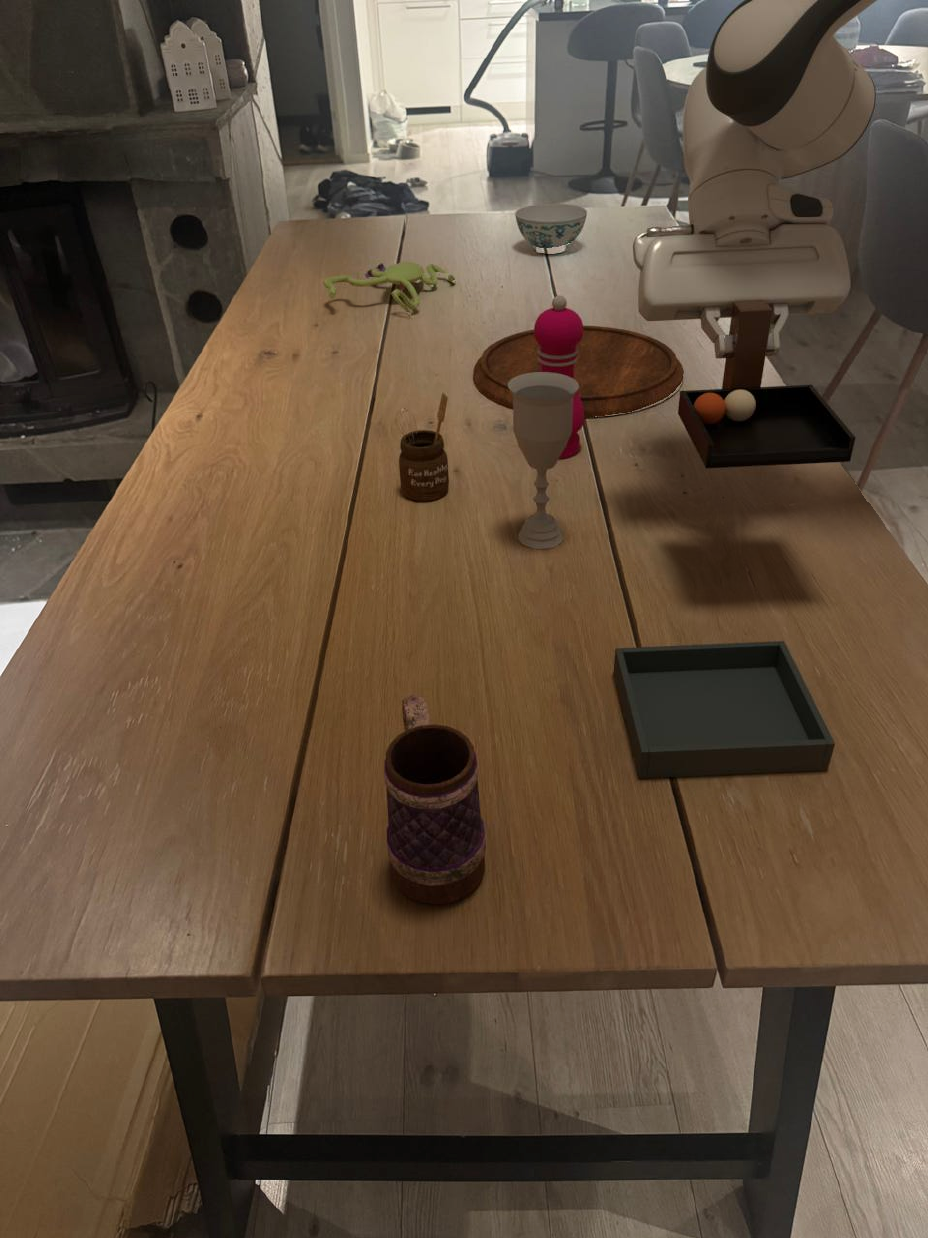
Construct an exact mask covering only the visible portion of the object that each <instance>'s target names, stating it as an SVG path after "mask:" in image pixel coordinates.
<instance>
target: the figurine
mask: <svg viewBox="0 0 928 1238" xmlns="http://www.w3.org/2000/svg"><path fill="white" fill-rule="evenodd" d="M426 272H427V273H428V275H429V277H430V278H429V277H427V276H426V275H424V274H425V270H424V267H423V266H422V265H420V264H418V263H416V262H399V263H395V264H392V265H389V266H387V267H385V265H384V263H380V264H378V265H377V266H376V267H374V268H373V269H372V268H371V269H369V270H367V272H366V273H364V276H365V278H366V277H367V278H369V277H377V278H372V279H367V278H366V279H355V278H353V277H351V276H350V275H345V274H344V275H334V276H330V277H327V278H325V280H323V286H324V287H325V288H326V289H328V290H329V292H328V293H329V294H328V296H329V298H330V299H334V298H335V297H336V294H337V288H336V286H335V284H337V283H348V284H349V285H351V286H354V287H362V288H364V287H369V286H376V285H381V284H384V283H390V284H393V285H398V288H395V289H394V290H393V291H391V293H390V295H391V296H392V298H393V300H394V301H395V302H396V303H397V304H398V305H399V306H400V307H401V308H402V309H403V310H404V311H405V313H406V312H409V313H411V310H410V309H409V308H408V307H410V308H411V309H413V310H416V309H417V308H418V307H419V306H420V298H419V295H418V293H417V291H416V289H415V287H414V285H413V284H412V283H414V281H417V280H419V279H420V280H421V282H422V283H424V284H426V285H427V286H429V285H435V284H436V283H437V284H438V276H437V272H441V273H449V272H448V271H446V270H445V269H444V268H442V267H441V266H438V265H436V264H434V263H430V264H428V265H427V266H426ZM431 279H432V280H431ZM455 279H456V277H455V276H454V275H453V274H451V275H449V276H448V280H449V281H453V280H455ZM448 280H447V281H448ZM449 281H448V282H449ZM437 284H436V285H437ZM436 285H435V286H436ZM405 289H407V291H408V292H409V294H410V296H411V298H412V301H411V300H410V298H409V297H408V296H407V294H406V293H404V290H405ZM401 290H403V292H402V291H401ZM400 297H401V299H402V300H403V301H404V302H405V303H406V304H407V305H406V304H404V302H403V301H402V300H401V299H400Z"/></svg>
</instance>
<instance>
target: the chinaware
mask: <svg viewBox="0 0 928 1238" xmlns="http://www.w3.org/2000/svg"><path fill="white" fill-rule="evenodd" d="M587 215H588V211H587V209H586V208H584V207H582V206H578V205H574V204H569V203H568V204H567V203H540V204H539V203H538V204H533V205H527V206H524V207H521V208H518V209H517V210H516V211H515V213H514V216H515V220H516V225H517V228H518V230H519V232H520V234H521V236H522V237H523V239H524V240H525V241H526V242H527V243H528V244H529V245H530V246H532V247H534V246H535V247H539V248H552V247H559V246H562V245H566V244H568V243H571V242H572V241H573V242H575V240H576V239H577V238H578V237H579V235H580V234H581V232H582V230H583V229H584V226H585V223H586V219H587ZM573 242H572V243H573ZM572 243H571V244H572ZM535 247H534V248H535Z"/></svg>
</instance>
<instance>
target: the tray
mask: <svg viewBox="0 0 928 1238" xmlns="http://www.w3.org/2000/svg"><path fill="white" fill-rule="evenodd" d="M612 674H613V678H614V681H615V682H614V683H615V686H616V691H617V695H618V699H619V702H620V707H621V711H622V714H623V715H622V716H623V718H624V722H625V728H626V731H627V737H628V739H629V744H630V748H631V752H632V756H633V760H634V764H635V769H636V772H637V776H638V779H639V780H641V779H660V778H661V779H663V778H686V777H687V778H688V777H708V776H726V775H727V776H730V775H731V776H733V775H754V774H755V775H756V774H777V773H778V774H779V773H780V774H781V773H799V772H801V773H802V772H822V771H823V772H825V771H828V770H829V768H830V765H831V764H830V763H831V760H832V756H833V753H834V749H835V746H836V743H835V741H834V738H833V736H832V735H831V733H830V730H829V729H828V726H827V724H826V722H825V719H823V716H822V714H821V712H820V711H819V708H818V706H817V704H816V703H815V701H814V698H813V697H812V694H811V693H810V690H809V689H808V686H807V685H806V682H805V680H804V678H803V676H802V674H801V671H800V670H799V668H798V666H797V664H796V662H795V661H794V658H793V656H792V653H791V652H790V650H789V648H788V646H787V644H786V642H785V640H778V641H777V640H775V641H774V640H773V641H753V642H732V643H731V642H729V643H708V644H683V645H662V646H659V645H658V646H638V647H637V646H636V647H635V646H634V647H616V648H615V649H614V660H613V673H612Z"/></svg>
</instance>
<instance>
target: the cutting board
mask: <svg viewBox="0 0 928 1238" xmlns="http://www.w3.org/2000/svg"><path fill="white" fill-rule="evenodd" d="M539 347H540V345H539V344H538V343H537V341H536V340H535V337H534V329H529V330H525V331H520V332H517V333H513V334H510V335H508V336H505V337H503V338H500V339H499V340H497V341H495V342H493V343H492V344H490V345H489V346H488V347H487V348H486V349H484V350H483V353H482V354H481V355H480V357H479V358H478V359H477V361H476V363H475V364H474V366H473V371H472V372H473V373H472V380H473V384H474V386H475V385H476V386H475V388H476V389H477V391H479V392H480V394H482V395H483V396H484V397H485V398H486V399H488V400H490V401H491V402H494V403H495V404H498V405H501V406H502V407H505V408H507V409H510V410H513V395H512V394H511V392H510V390H509V388H508V382H509V381H510V380H511V379H512V378H514V377H516V376H519V375H522V374H526V373H534V372H541V363H540V362H539V361H538V355H539V354H538V348H539ZM576 347H577V348H578V354H577V356H578V360H577V362H575V364H574V380H576V381H577V382H578V385H579V388H578V390H577V392H578V394H579V397H580V399H581V402H582V405H583V409H584V419H591V418H590V417H595V416H597V417H598V416H605V415H612V414H619V413H628V412H632V411H635V410H638V409H641V408H643V407H646V406H649V405H651V404H654V403H656V402H658V401H660V400H663V399H664V398H666V397H668V396H669V395H670V394H671V393H673V392H674V391H675V390H676V388H677V387H678V386H679V385H680V384H681V382H682V380H683V381H684V376H683V374H684V375H685V371H684V368H683V365H682V363H681V362H680V360H679V359H678V357H677V355H676V354H675V352H674V351H673V349H672V348H670V347H669V346H668V345H666V344H665V343H664V342H662V341H660V340H658V339H656V338H653V337H652V336H649V335H647V334H643V333H639V332H636V331H633V330H632V331H631V330H627V329H623V328H618V327H617V328H616V327H609V326H598V325H583V337H582V339H581V341H580V342H579V343H578V344H577V345H576Z"/></svg>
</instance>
